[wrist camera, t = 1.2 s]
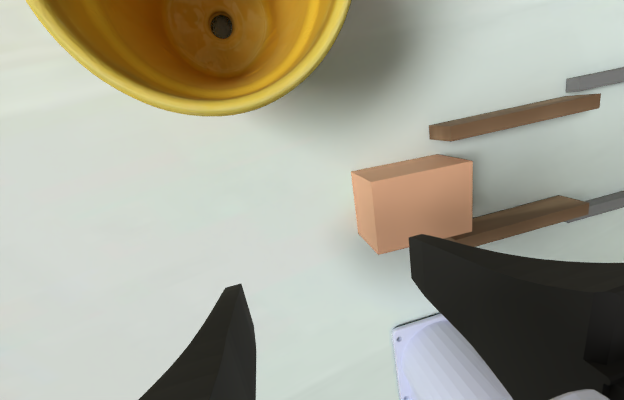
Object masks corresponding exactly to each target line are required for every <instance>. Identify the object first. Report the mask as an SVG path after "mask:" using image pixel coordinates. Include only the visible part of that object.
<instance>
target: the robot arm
mask: <svg viewBox="0 0 624 400" xmlns="http://www.w3.org/2000/svg"><path fill="white" fill-rule="evenodd" d="M409 249H410V263H411V276H412V279H413V281H414V282H415V284H416V285H417V286H418V288H419V289H420V291H421V292H422V293H423V294H424V296H425V297H426V298H427V299H428V300H429V301H430V302H431V303H432V304H433V306H434V307H435V308H436V309H437V310H438V311H439V312H440V313H441V314H438V315H435V316H432V317H428V318H425V319H422V320H419V321H416V322H412V323H409V324H406V325H403V326H400V327H396V328H394V329H393V331H392V340H393V347H394V355H395V363H396V371H397V379H398V387H399V395H400V400H624V263H584V262H566V261H555V260H544V259H535V258H528V257H521V256H515V255H509V254H503V253H498V252H494V251H489V250H484V249H480V248H476V247H472V246H468V245H464V244H461V243H457V242H453V241H449V240H446V239H442V238H438V237H434V236H430V235H425V234H420V235H416V236H412V237H409ZM398 337H399V338H398ZM397 338H398V339H397ZM139 400H256V343H255V333H254V325H253V322H252V318H251V315H250V312H249V308H248V305H247V301H246V298H245V295H244V291H243V288H242V285H241V284H238V285H234V286H231V287H227V288H225V290H224V291H223V293H222V294H221V296H220V298H219V300H218V301H217V303H216V305H215V306H214V308H213V310H212V311H211V313H210V315H209V316H208V318H207V319H206V321H205V323H204V324H203V326H202V327H201V329H200V330H199V332H198V333H197V334H196V336H195V337H194V339H193V340H192V341H191V343H190V344H189V345H188V347H187V348H186V349H185V350H184V352H183V353H182V354H181V355H180V357H179V358H178V359H177V360H176V361H175V362H174V364H173V365H172V366H171V367H170V368H169V369H168V370H167V371H166V372H165V373H164V374H163V375H162V377H161V378H160V379H159V380H158V381H157V382H156V383H155V384H154V385H153V386H152V387H151V388H150V389H149V390H148V391H147V392H146V393H145V394H144V395H143V396H142V397H141V398H140V399H139Z"/></svg>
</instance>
